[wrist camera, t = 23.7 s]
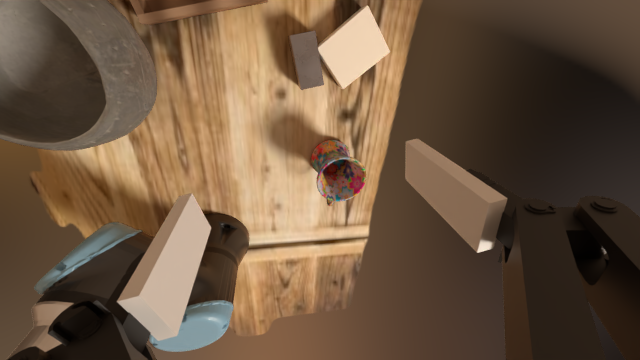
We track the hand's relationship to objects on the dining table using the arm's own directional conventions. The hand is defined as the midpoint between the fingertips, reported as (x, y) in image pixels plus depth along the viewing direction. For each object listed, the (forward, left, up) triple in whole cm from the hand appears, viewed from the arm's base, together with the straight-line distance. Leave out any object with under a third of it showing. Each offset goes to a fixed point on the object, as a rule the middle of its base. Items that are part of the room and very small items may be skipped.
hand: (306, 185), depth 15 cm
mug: (+6, -17, -35) cm, 39 cm away
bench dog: (+5, +4, -35) cm, 35 cm away
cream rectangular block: (+13, +4, -35) cm, 38 cm away
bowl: (-27, +10, -35) cm, 45 cm away
